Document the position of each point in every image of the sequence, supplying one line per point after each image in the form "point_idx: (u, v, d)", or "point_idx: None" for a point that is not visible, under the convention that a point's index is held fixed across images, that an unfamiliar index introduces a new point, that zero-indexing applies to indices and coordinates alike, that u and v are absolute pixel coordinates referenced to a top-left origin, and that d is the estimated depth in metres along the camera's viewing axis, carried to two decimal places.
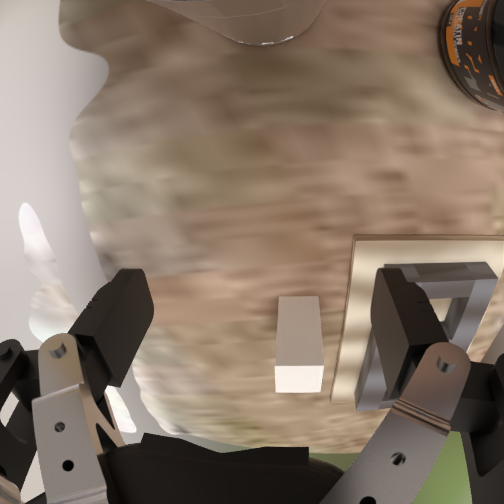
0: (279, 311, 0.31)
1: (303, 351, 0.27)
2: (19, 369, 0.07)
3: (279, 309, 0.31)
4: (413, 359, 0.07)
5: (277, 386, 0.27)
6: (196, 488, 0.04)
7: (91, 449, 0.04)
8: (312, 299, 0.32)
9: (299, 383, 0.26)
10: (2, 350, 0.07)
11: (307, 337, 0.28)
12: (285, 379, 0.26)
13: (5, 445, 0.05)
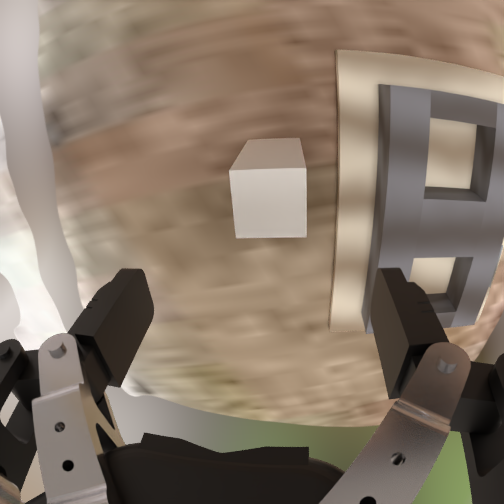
0: (246, 145, 0.23)
1: (274, 161, 0.18)
2: (19, 369, 0.07)
3: (246, 144, 0.23)
4: (413, 359, 0.07)
5: (237, 222, 0.18)
6: (196, 488, 0.04)
7: (91, 449, 0.04)
8: (291, 139, 0.24)
9: (271, 212, 0.18)
10: (3, 350, 0.07)
11: (282, 154, 0.19)
12: (247, 205, 0.18)
13: (5, 445, 0.05)
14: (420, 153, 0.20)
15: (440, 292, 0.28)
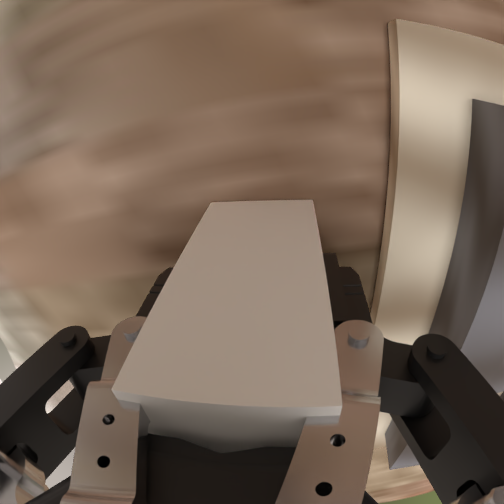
0: (200, 227, 0.11)
1: (248, 337, 0.06)
2: (87, 357, 0.07)
3: (201, 223, 0.11)
4: None
5: None
6: (196, 488, 0.04)
7: (133, 453, 0.04)
8: (295, 204, 0.12)
9: None
10: (67, 337, 0.07)
11: (275, 288, 0.08)
12: None
13: (44, 433, 0.06)
14: None
15: None
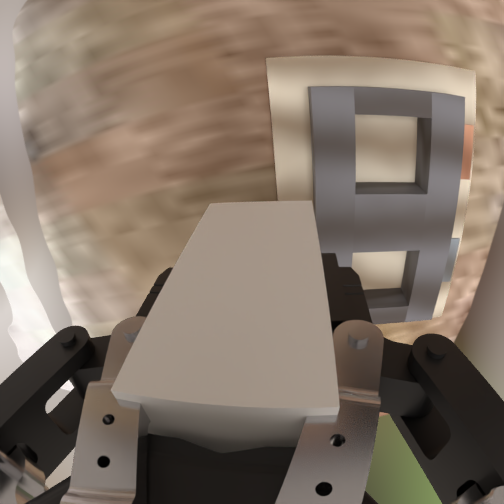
0: (199, 228, 0.11)
1: (247, 338, 0.06)
2: (87, 357, 0.07)
3: (200, 224, 0.11)
4: None
5: None
6: (196, 488, 0.04)
7: (133, 453, 0.04)
8: (294, 205, 0.12)
9: None
10: (66, 337, 0.07)
11: (273, 289, 0.08)
12: None
13: (44, 433, 0.06)
14: (347, 150, 0.22)
15: (394, 287, 0.30)
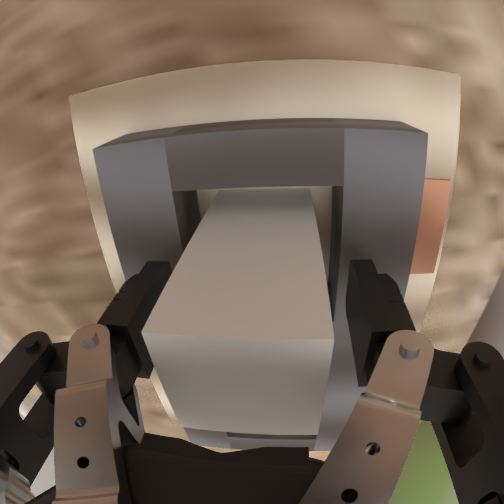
0: (210, 209, 0.12)
1: (257, 290, 0.08)
2: (47, 361, 0.07)
3: (212, 206, 0.13)
4: (377, 346, 0.07)
5: (178, 410, 0.08)
6: (196, 488, 0.04)
7: (109, 449, 0.04)
8: (294, 191, 0.14)
9: (246, 405, 0.08)
10: (29, 342, 0.07)
11: (277, 255, 0.09)
12: (194, 392, 0.07)
13: (21, 438, 0.06)
14: (168, 255, 0.13)
15: None
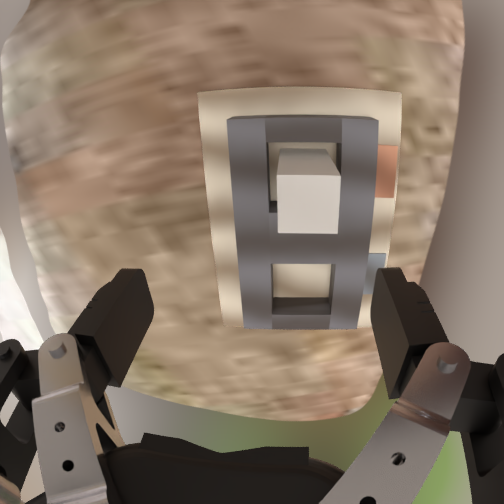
0: (281, 153, 0.26)
1: (312, 168, 0.21)
2: (19, 369, 0.07)
3: (281, 152, 0.26)
4: (413, 359, 0.07)
5: (280, 219, 0.21)
6: (196, 488, 0.04)
7: (91, 449, 0.04)
8: (318, 149, 0.27)
9: (309, 211, 0.21)
10: (2, 350, 0.07)
11: (317, 163, 0.22)
12: (290, 204, 0.21)
13: (5, 445, 0.05)
14: (259, 174, 0.26)
15: (322, 296, 0.35)
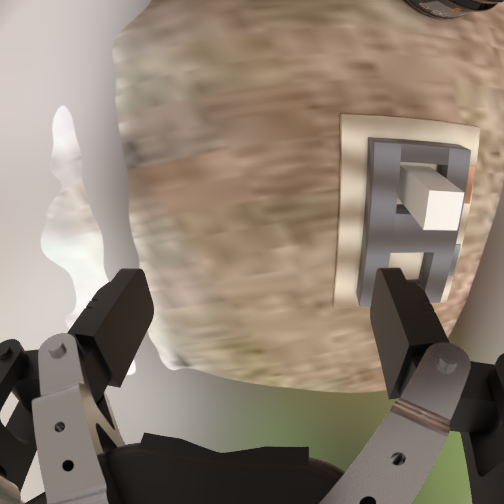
0: (407, 170, 0.32)
1: (443, 185, 0.27)
2: (19, 369, 0.07)
3: (406, 169, 0.32)
4: (413, 359, 0.07)
5: (426, 220, 0.28)
6: (196, 488, 0.04)
7: (91, 449, 0.04)
8: (426, 167, 0.33)
9: (444, 215, 0.27)
10: (3, 350, 0.07)
11: (440, 181, 0.29)
12: (434, 210, 0.27)
13: (5, 445, 0.05)
14: (393, 185, 0.32)
15: (414, 278, 0.41)
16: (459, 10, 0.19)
